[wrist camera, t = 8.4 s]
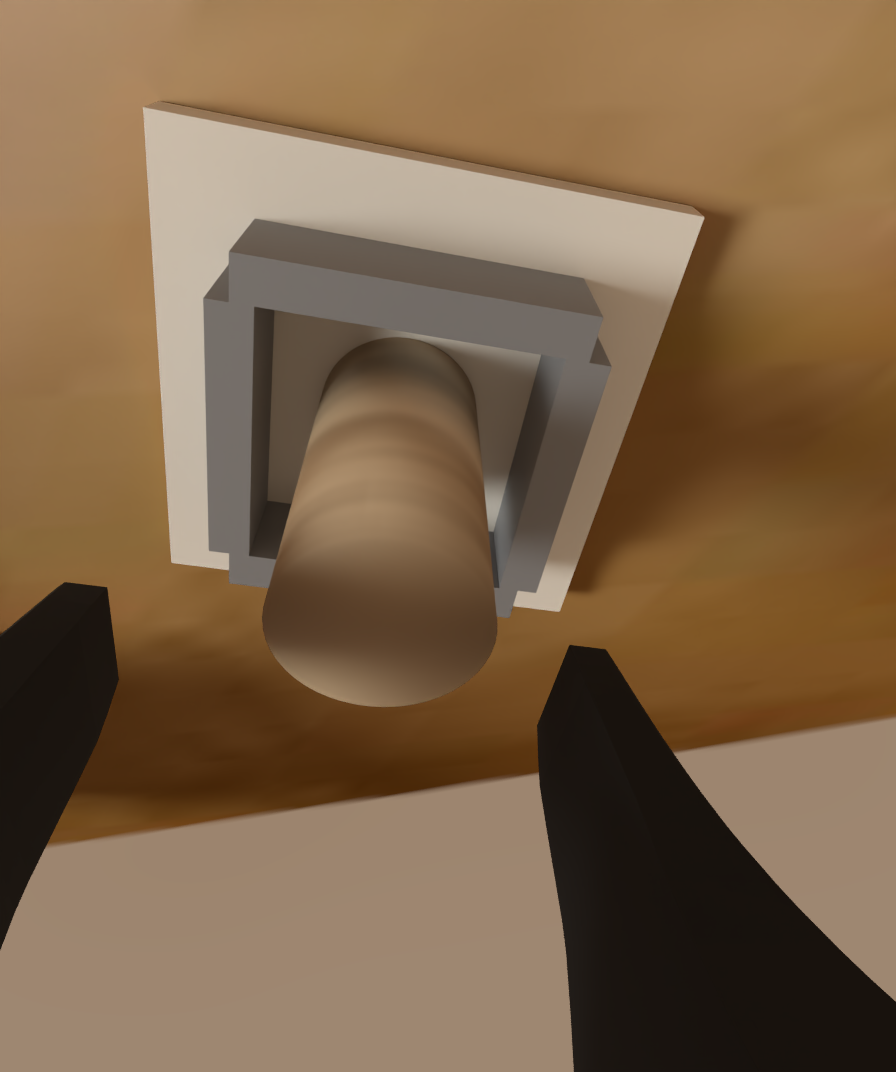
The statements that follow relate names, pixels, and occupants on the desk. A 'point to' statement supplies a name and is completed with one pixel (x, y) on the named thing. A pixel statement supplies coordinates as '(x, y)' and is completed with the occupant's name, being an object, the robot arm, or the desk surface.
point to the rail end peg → (387, 535)
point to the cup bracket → (394, 325)
